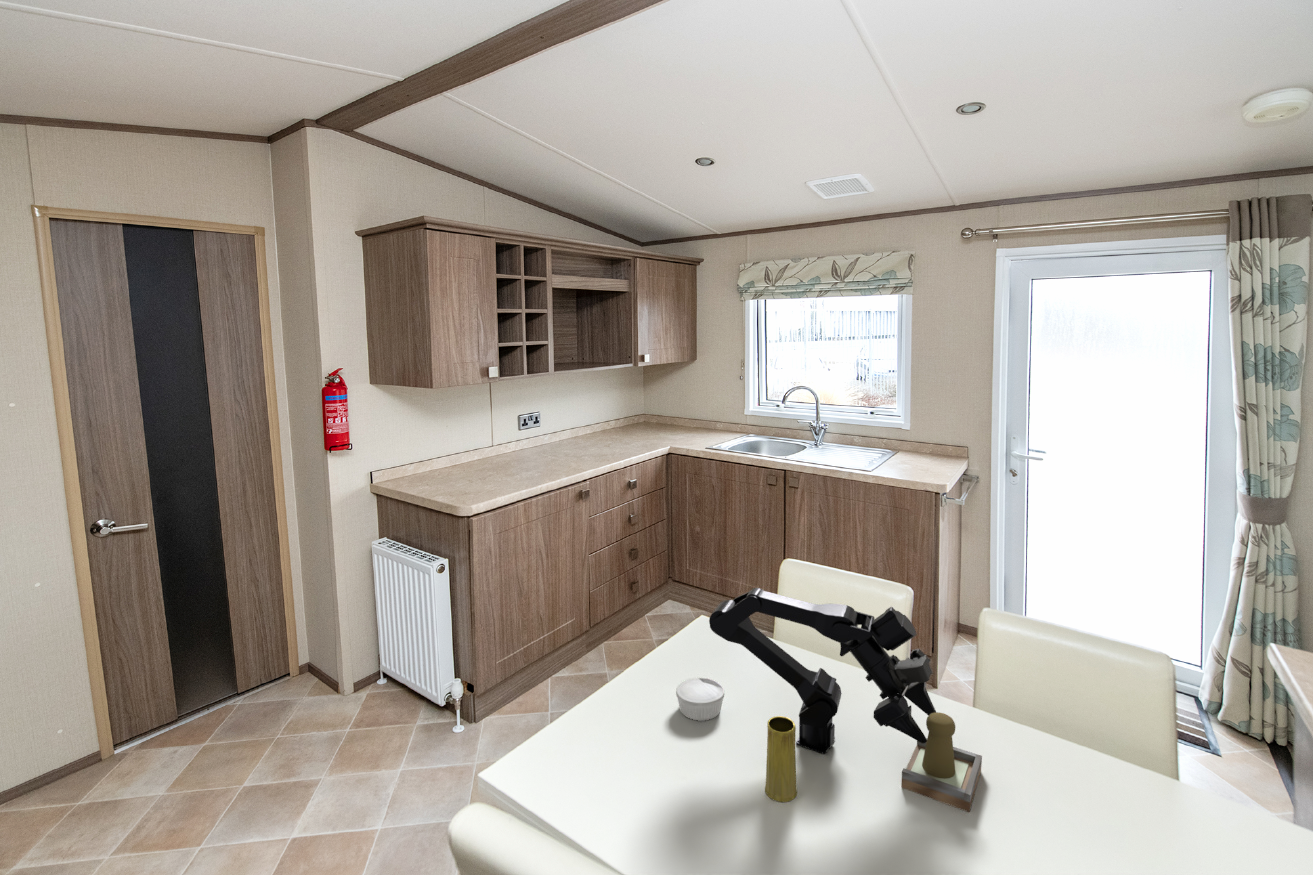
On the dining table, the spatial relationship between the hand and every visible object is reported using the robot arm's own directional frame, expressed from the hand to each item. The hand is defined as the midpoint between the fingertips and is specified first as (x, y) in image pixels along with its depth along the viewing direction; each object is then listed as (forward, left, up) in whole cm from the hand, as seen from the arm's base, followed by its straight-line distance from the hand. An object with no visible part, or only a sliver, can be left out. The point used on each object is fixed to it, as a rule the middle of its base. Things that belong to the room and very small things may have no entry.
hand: (930, 729), depth 126 cm
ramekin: (-50, -5, -10) cm, 51 cm away
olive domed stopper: (+2, 0, -8) cm, 8 cm away
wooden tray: (+2, 0, -10) cm, 10 cm away
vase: (-23, -20, -10) cm, 32 cm away
